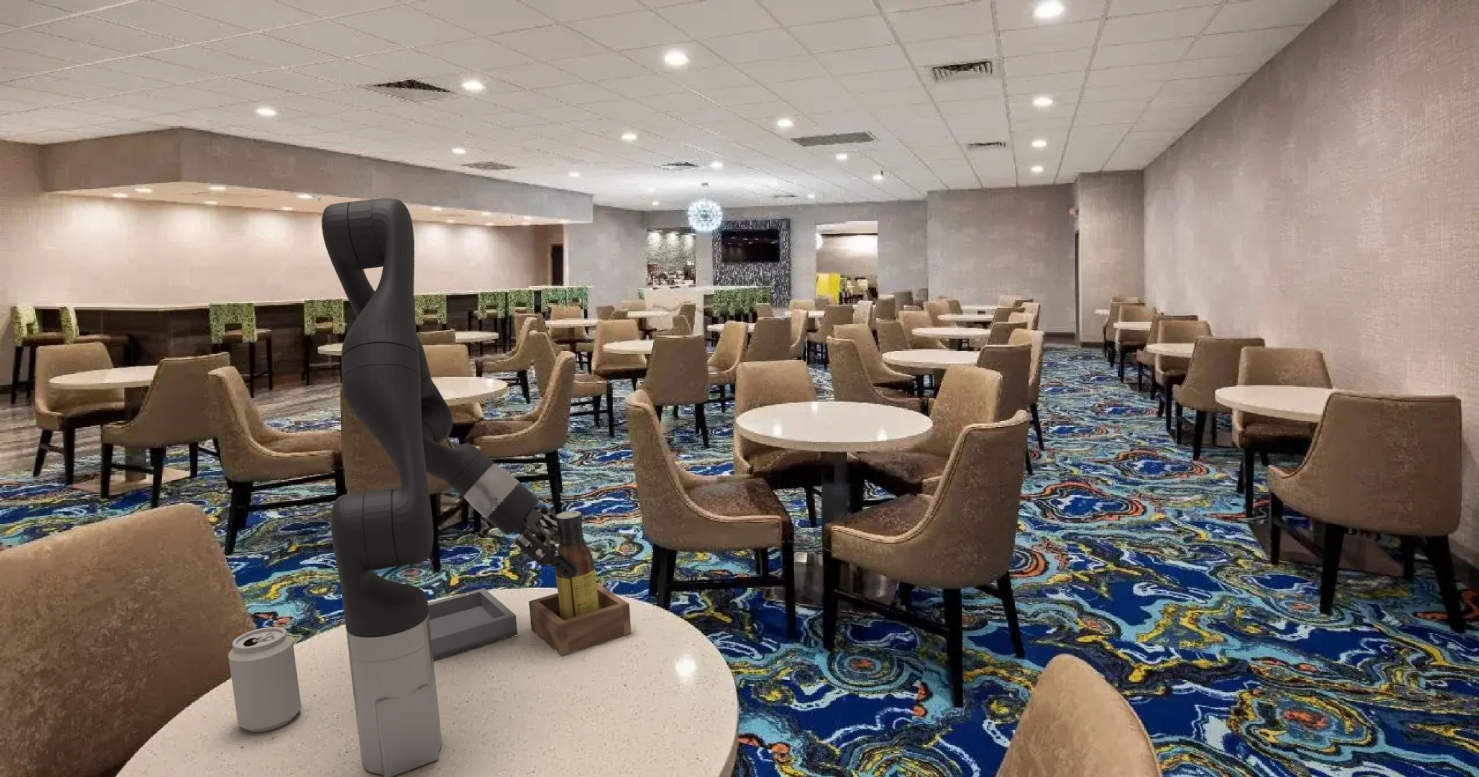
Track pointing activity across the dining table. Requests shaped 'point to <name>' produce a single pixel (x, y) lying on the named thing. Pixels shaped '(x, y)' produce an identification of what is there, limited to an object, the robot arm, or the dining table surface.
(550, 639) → the bottle holder
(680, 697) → the dining table surface
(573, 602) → the sauce bottle
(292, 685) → the can
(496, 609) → the tray
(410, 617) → the robot arm
